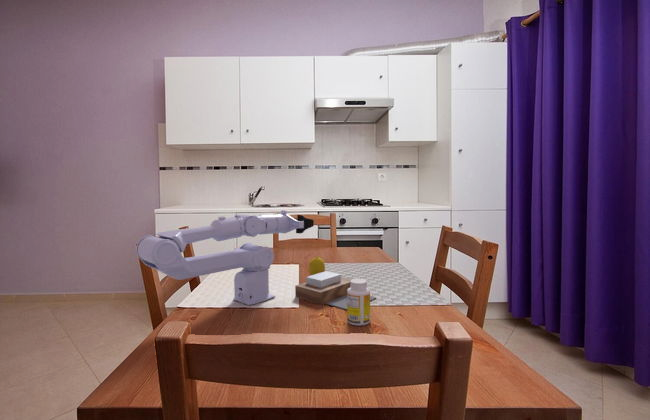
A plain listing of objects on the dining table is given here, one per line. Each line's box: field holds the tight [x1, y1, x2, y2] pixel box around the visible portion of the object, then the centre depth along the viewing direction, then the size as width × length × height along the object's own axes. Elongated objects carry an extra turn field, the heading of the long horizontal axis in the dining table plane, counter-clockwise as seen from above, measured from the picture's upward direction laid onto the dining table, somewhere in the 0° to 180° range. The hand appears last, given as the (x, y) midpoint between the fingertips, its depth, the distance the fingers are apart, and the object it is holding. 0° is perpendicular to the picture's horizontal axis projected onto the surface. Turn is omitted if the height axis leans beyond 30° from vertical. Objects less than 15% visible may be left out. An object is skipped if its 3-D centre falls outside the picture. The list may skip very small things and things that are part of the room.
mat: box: [325, 295, 377, 311], centre depth 106 cm, size 13×8×1 cm, turn 139°
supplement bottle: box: [346, 278, 371, 327], centre depth 90 cm, size 6×6×10 cm
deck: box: [294, 276, 354, 306], centre depth 112 cm, size 16×10×4 cm, turn 139°
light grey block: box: [305, 270, 342, 287], centre depth 112 cm, size 9×6×2 cm, turn 139°
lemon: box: [308, 256, 326, 276], centre depth 128 cm, size 6×6×8 cm
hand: (304, 222), depth 121 cm, fingers open, 7 cm apart
